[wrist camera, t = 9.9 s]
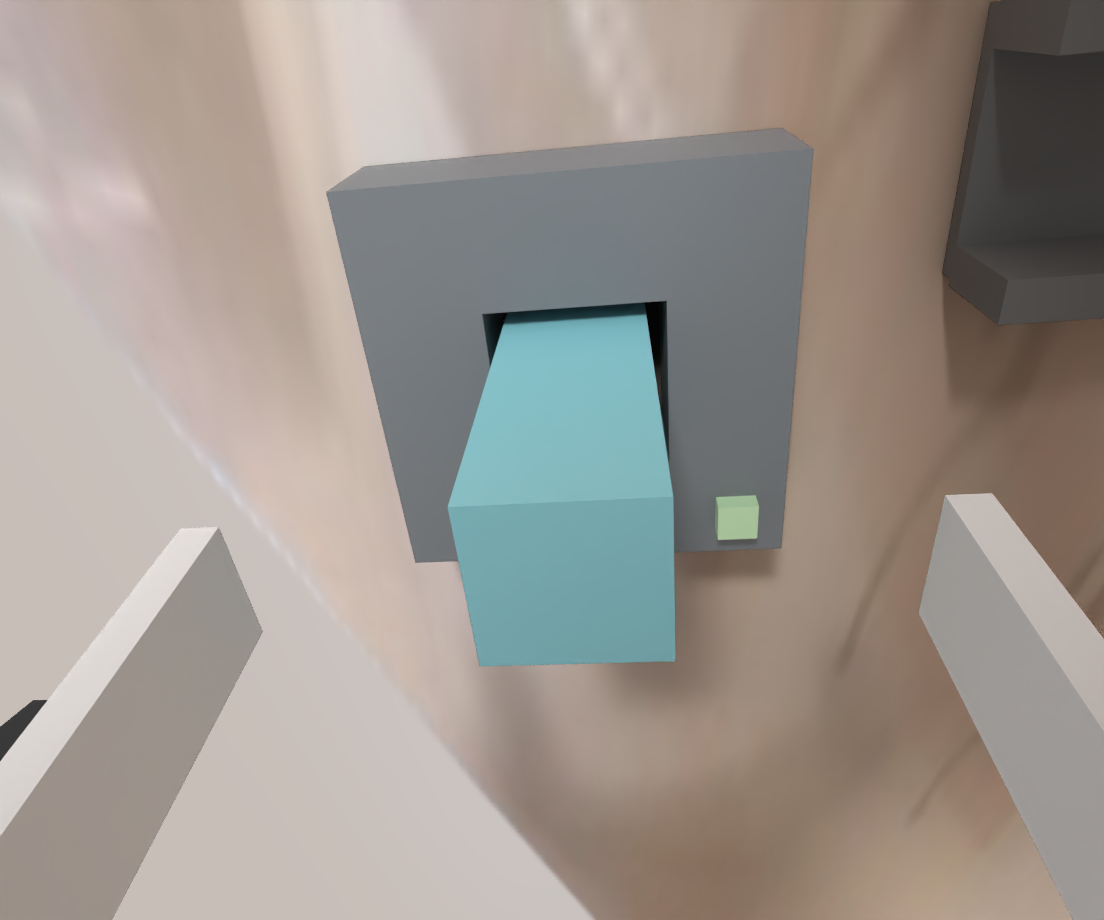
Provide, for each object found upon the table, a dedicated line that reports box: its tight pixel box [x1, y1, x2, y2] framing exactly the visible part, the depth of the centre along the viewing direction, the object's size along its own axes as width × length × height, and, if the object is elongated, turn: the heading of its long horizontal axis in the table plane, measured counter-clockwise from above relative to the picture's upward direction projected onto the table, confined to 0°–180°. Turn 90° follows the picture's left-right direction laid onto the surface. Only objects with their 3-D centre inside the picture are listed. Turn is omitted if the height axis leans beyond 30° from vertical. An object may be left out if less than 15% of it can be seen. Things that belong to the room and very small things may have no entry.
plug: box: [448, 302, 675, 666], centre depth 19 cm, size 4×4×12 cm
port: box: [326, 128, 813, 563], centre depth 23 cm, size 12×12×4 cm
